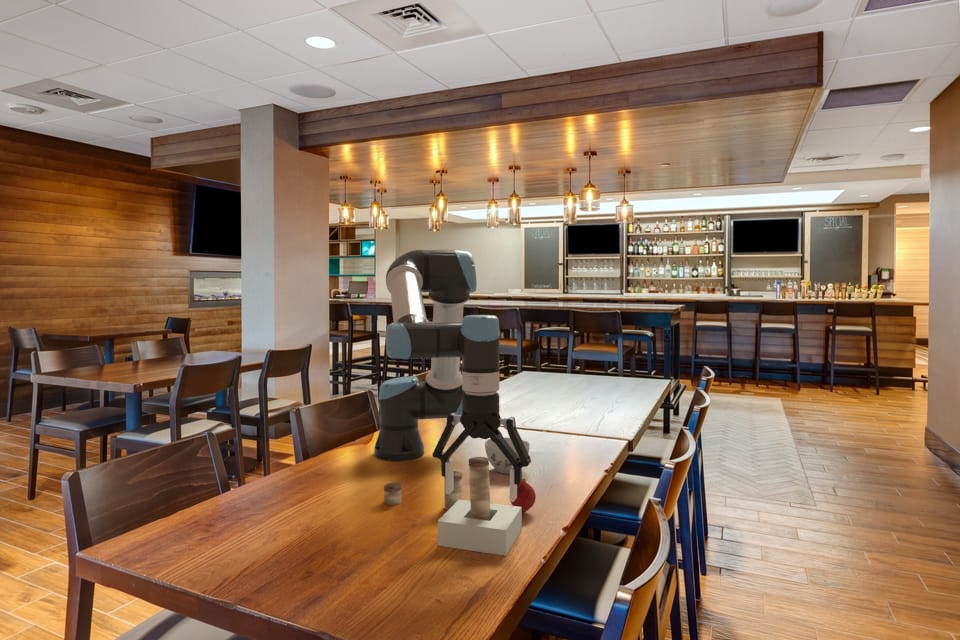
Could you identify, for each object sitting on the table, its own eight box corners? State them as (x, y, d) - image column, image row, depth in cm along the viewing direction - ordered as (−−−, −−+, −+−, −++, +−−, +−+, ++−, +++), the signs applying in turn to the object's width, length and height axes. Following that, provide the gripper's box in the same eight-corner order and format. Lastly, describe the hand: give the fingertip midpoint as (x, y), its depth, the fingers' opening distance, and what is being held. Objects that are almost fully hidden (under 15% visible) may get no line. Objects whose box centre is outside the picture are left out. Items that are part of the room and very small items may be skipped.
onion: (528, 520, 124) (528, 484, 124) (505, 514, 127) (505, 479, 127) (539, 511, 129) (539, 476, 129) (517, 506, 132) (517, 472, 132)
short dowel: (381, 504, 134) (380, 487, 134) (389, 498, 138) (388, 482, 137) (396, 506, 132) (396, 489, 132) (404, 500, 136) (404, 483, 136)
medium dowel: (441, 510, 130) (441, 475, 130) (448, 503, 134) (448, 470, 134) (458, 512, 129) (458, 477, 128) (464, 505, 133) (464, 472, 132)
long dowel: (468, 540, 114) (465, 461, 114) (475, 532, 118) (472, 456, 118) (488, 542, 113) (485, 462, 113) (494, 534, 117) (491, 457, 116)
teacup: (516, 481, 150) (516, 451, 149) (476, 473, 156) (475, 444, 156) (541, 466, 162) (541, 438, 162) (502, 459, 169) (502, 432, 168)
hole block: (438, 545, 112) (437, 520, 112) (459, 521, 123) (458, 499, 123) (506, 555, 108) (506, 530, 107) (521, 530, 119) (521, 506, 119)
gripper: (416, 391, 114) (417, 495, 115) (537, 399, 106) (537, 509, 108) (430, 385, 121) (431, 483, 123) (545, 392, 114) (545, 496, 115)
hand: (480, 495), depth 115 cm, fingers open, 13 cm apart
